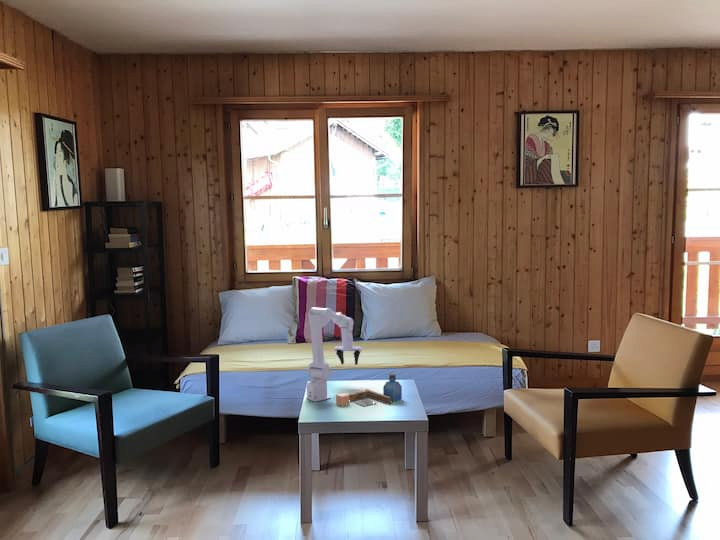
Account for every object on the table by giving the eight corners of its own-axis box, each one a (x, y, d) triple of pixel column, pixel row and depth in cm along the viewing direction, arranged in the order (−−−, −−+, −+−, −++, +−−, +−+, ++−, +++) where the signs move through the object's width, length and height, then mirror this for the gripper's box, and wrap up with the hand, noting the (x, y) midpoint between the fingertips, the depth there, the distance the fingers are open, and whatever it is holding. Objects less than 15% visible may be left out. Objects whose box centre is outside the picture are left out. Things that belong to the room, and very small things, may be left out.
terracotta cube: (341, 406, 288) (341, 396, 288) (336, 404, 292) (335, 394, 292) (349, 404, 291) (349, 394, 291) (343, 402, 295) (343, 392, 294)
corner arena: (369, 408, 284) (369, 402, 283) (346, 400, 298) (346, 394, 298) (390, 403, 291) (390, 397, 291) (367, 395, 306) (367, 389, 305)
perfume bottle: (392, 396, 302) (392, 372, 301) (401, 399, 298) (401, 374, 297) (383, 399, 298) (383, 375, 297) (392, 402, 293) (392, 377, 292)
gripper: (362, 337, 325) (364, 361, 328) (336, 336, 330) (339, 360, 332) (358, 341, 319) (361, 366, 321) (332, 341, 323) (334, 365, 326)
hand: (349, 364), depth 326 cm, fingers open, 7 cm apart
